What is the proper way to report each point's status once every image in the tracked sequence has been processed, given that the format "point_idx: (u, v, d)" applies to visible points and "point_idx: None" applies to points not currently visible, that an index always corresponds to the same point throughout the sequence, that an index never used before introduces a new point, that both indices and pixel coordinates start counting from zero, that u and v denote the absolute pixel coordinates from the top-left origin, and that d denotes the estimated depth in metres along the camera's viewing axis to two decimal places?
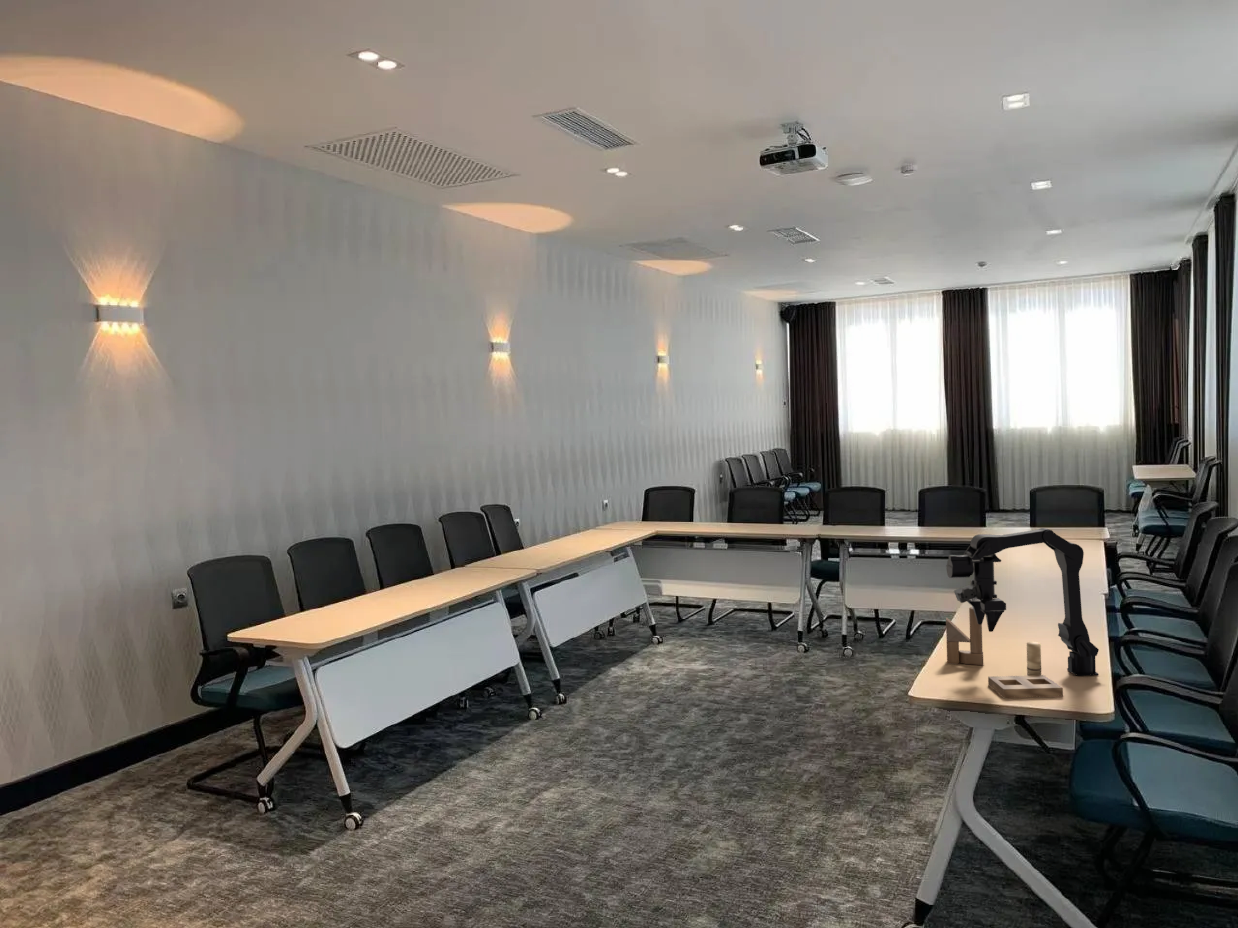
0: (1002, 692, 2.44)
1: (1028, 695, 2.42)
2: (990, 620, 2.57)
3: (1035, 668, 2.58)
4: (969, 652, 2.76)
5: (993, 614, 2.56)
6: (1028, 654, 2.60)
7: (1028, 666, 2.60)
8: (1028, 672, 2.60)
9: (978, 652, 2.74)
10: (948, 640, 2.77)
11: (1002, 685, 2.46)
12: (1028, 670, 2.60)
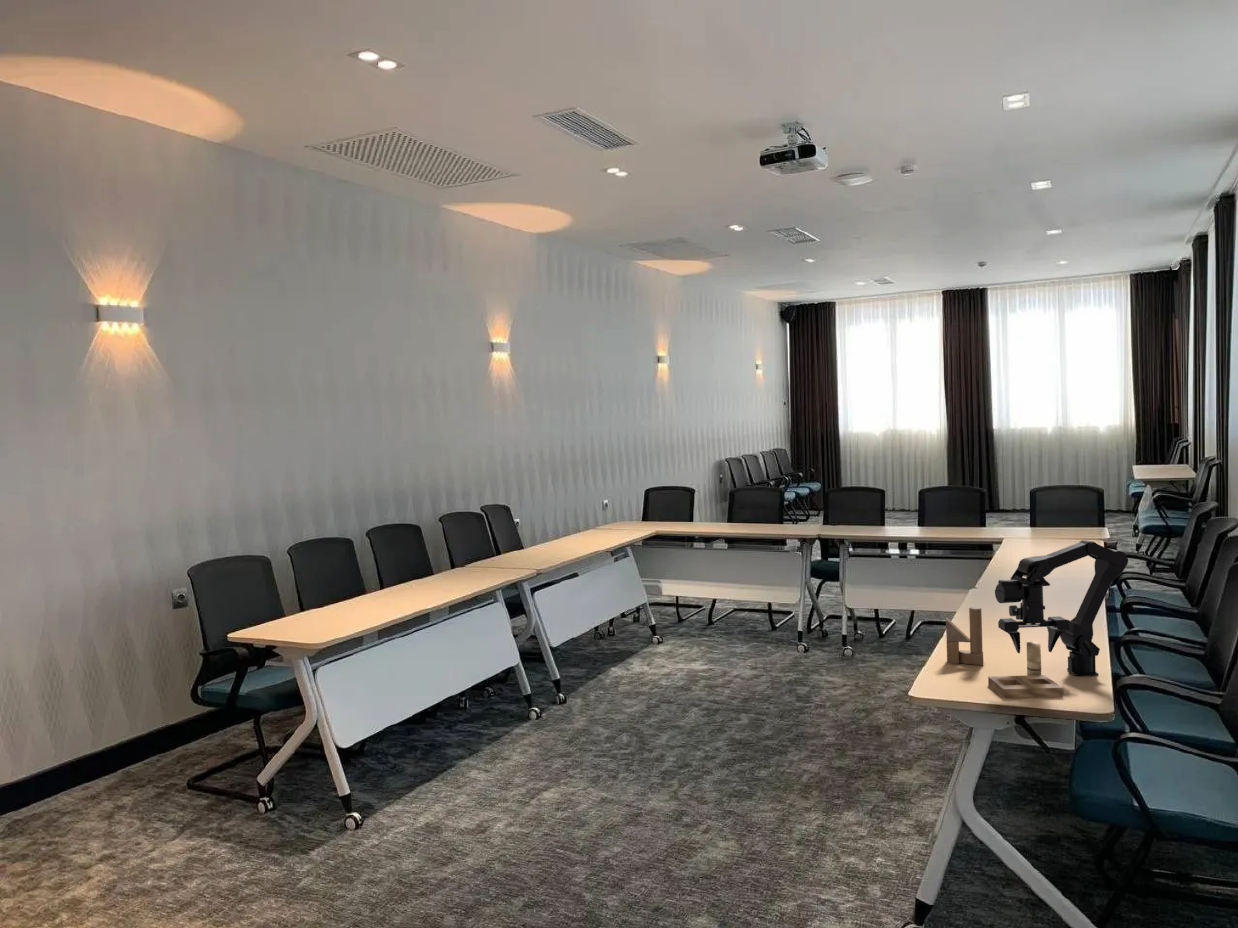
0: (1002, 692, 2.44)
1: (1028, 695, 2.42)
2: (1013, 640, 2.61)
3: (1035, 668, 2.58)
4: (969, 652, 2.76)
5: None
6: (1028, 654, 2.60)
7: (1028, 666, 2.60)
8: (1028, 672, 2.60)
9: (978, 652, 2.74)
10: (948, 640, 2.77)
11: (1002, 685, 2.46)
12: (1028, 670, 2.60)
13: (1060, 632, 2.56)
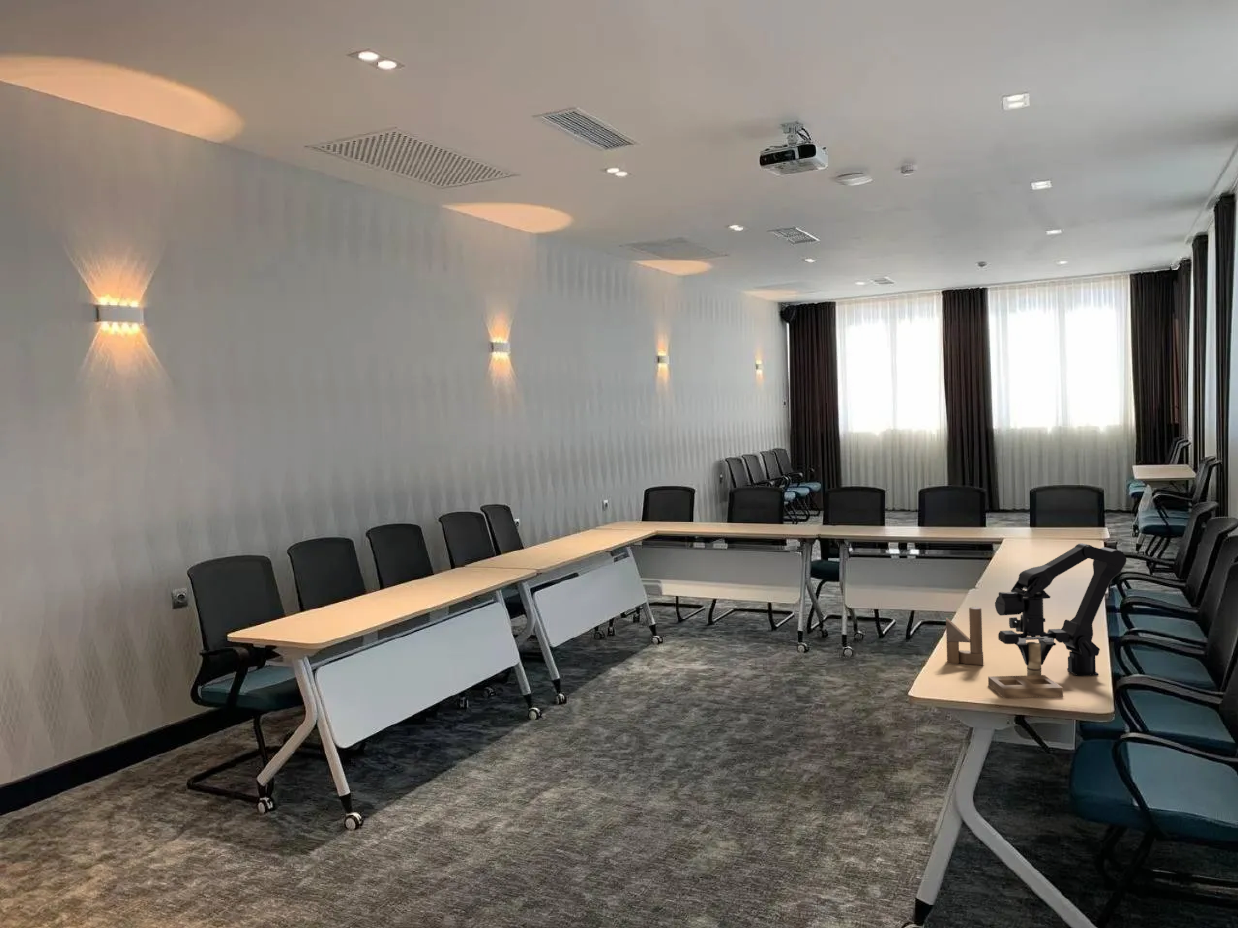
0: (1002, 692, 2.44)
1: (1028, 695, 2.42)
2: (1021, 652, 2.61)
3: (1035, 668, 2.58)
4: (969, 652, 2.76)
5: None
6: None
7: (1028, 666, 2.60)
8: (1028, 672, 2.60)
9: (978, 652, 2.74)
10: (948, 640, 2.77)
11: (1002, 685, 2.46)
12: (1028, 670, 2.60)
13: (1051, 645, 2.57)
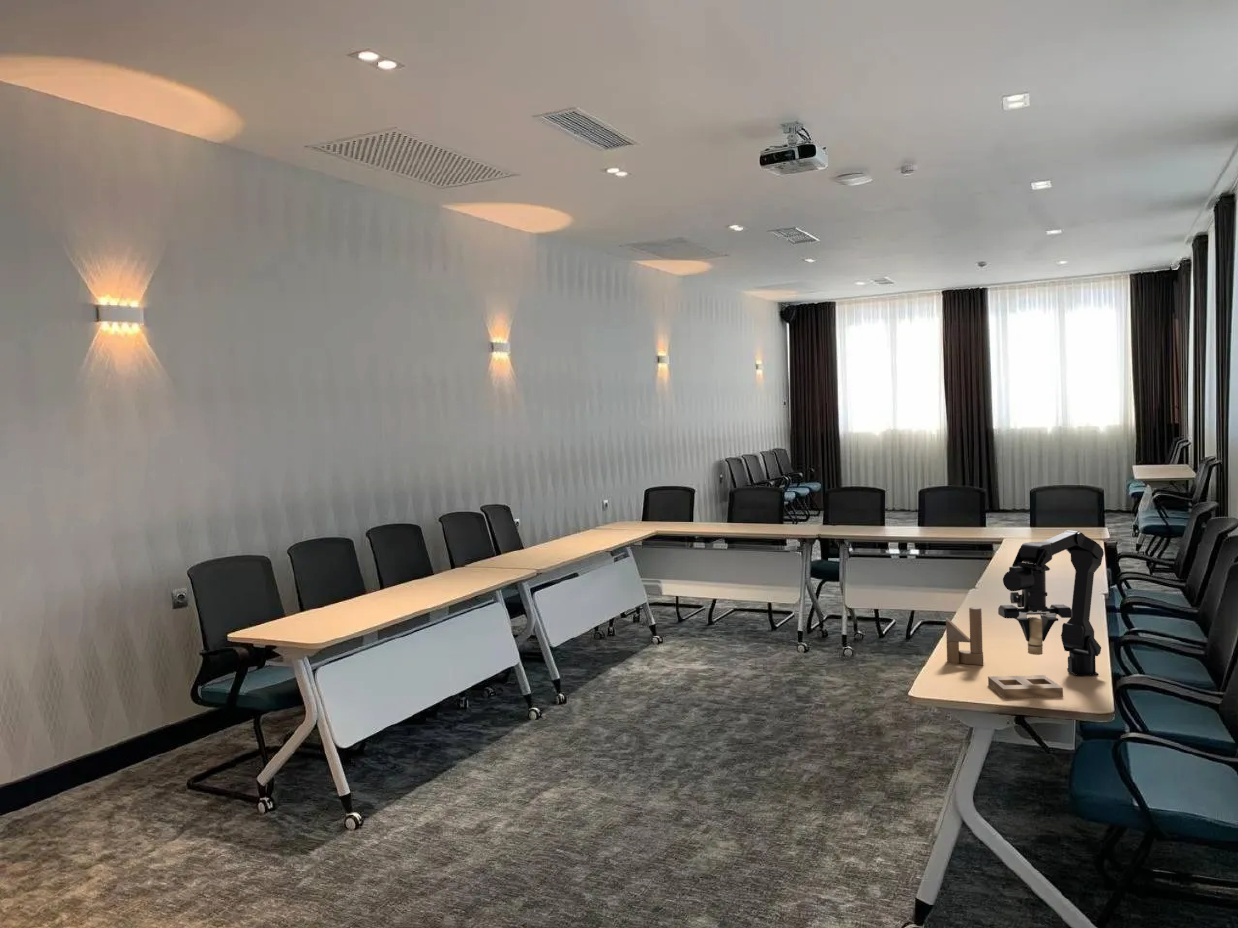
0: (1002, 692, 2.44)
1: (1028, 695, 2.42)
2: (1022, 628, 2.50)
3: (1036, 644, 2.48)
4: (969, 652, 2.76)
5: None
6: None
7: (1029, 642, 2.50)
8: (1029, 648, 2.50)
9: (978, 652, 2.74)
10: (948, 640, 2.77)
11: (1002, 685, 2.46)
12: (1029, 646, 2.50)
13: (1053, 620, 2.46)
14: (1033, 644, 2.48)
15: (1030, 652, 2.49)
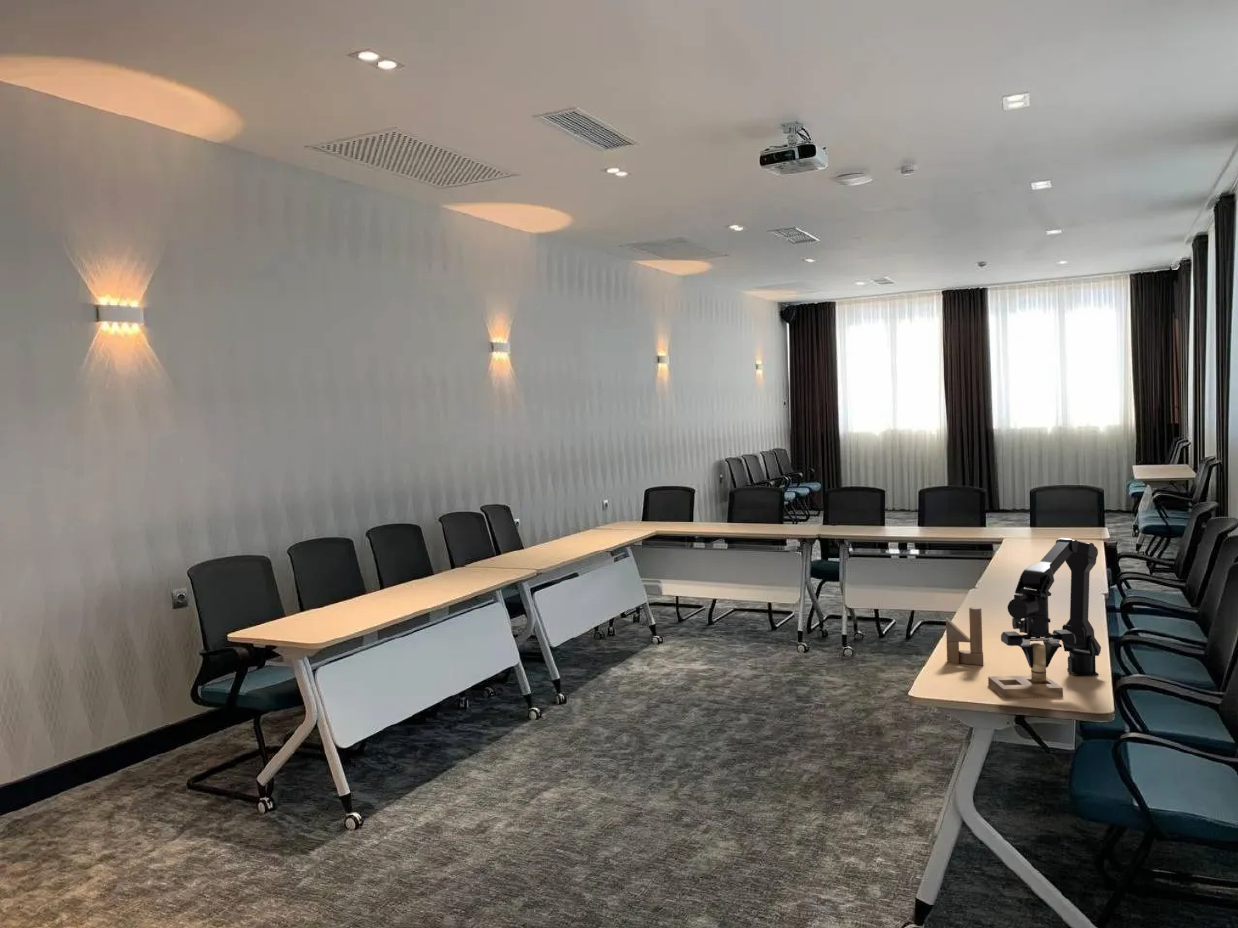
0: (1002, 692, 2.44)
1: (1028, 695, 2.42)
2: (1025, 654, 2.48)
3: (1040, 671, 2.46)
4: (969, 652, 2.76)
5: None
6: None
7: (1032, 669, 2.47)
8: (1032, 675, 2.47)
9: (978, 652, 2.74)
10: (948, 640, 2.77)
11: (1002, 685, 2.46)
12: (1032, 673, 2.47)
13: (1057, 647, 2.44)
14: (1037, 671, 2.46)
15: (1034, 679, 2.47)
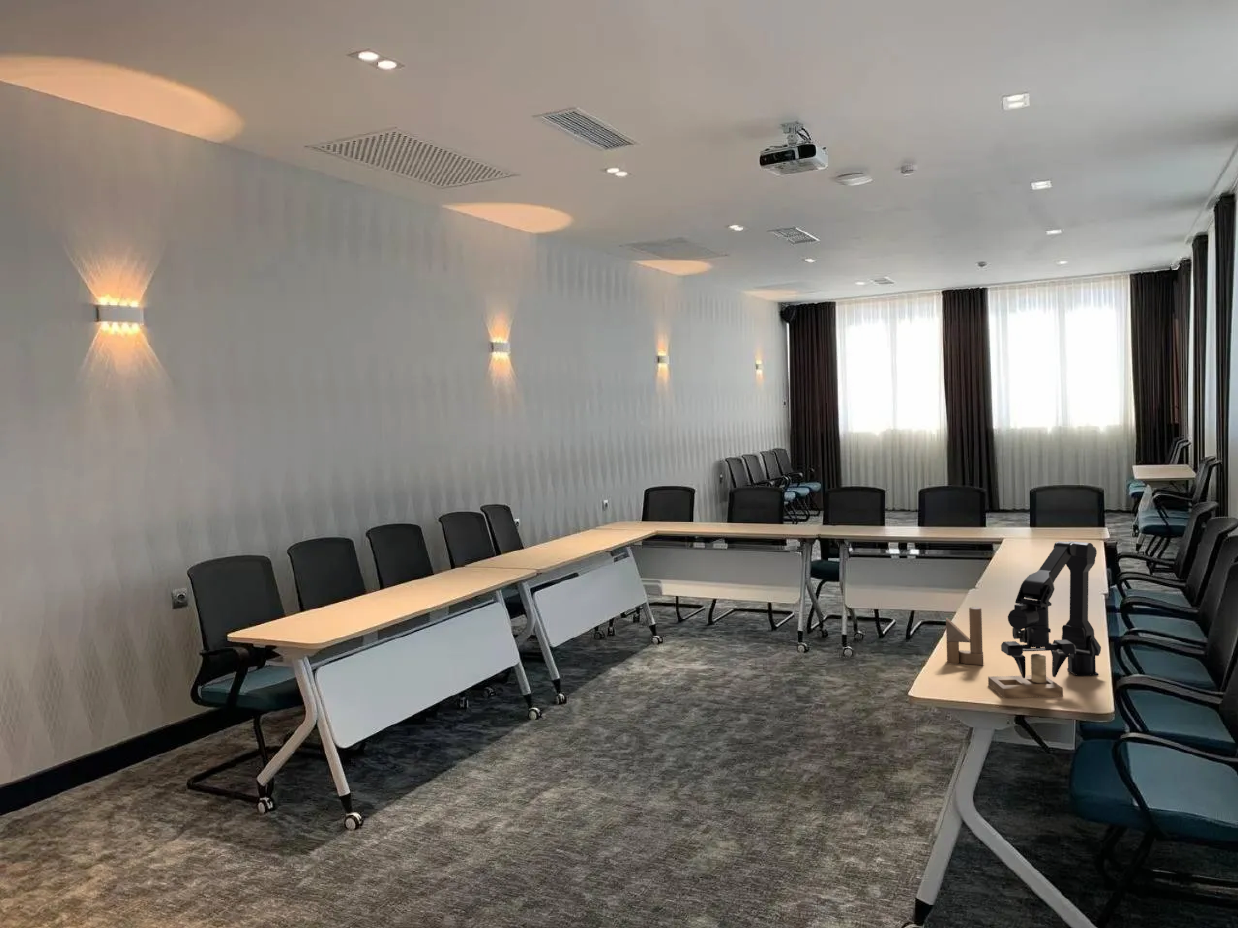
0: (1002, 692, 2.44)
1: (1028, 695, 2.42)
2: (1018, 664, 2.48)
3: (1040, 681, 2.46)
4: (969, 652, 2.76)
5: None
6: (1032, 667, 2.47)
7: (1032, 679, 2.47)
8: None
9: (978, 652, 2.74)
10: (948, 640, 2.77)
11: (1002, 685, 2.46)
12: None
13: (1065, 656, 2.44)
14: (1037, 681, 2.46)
15: None
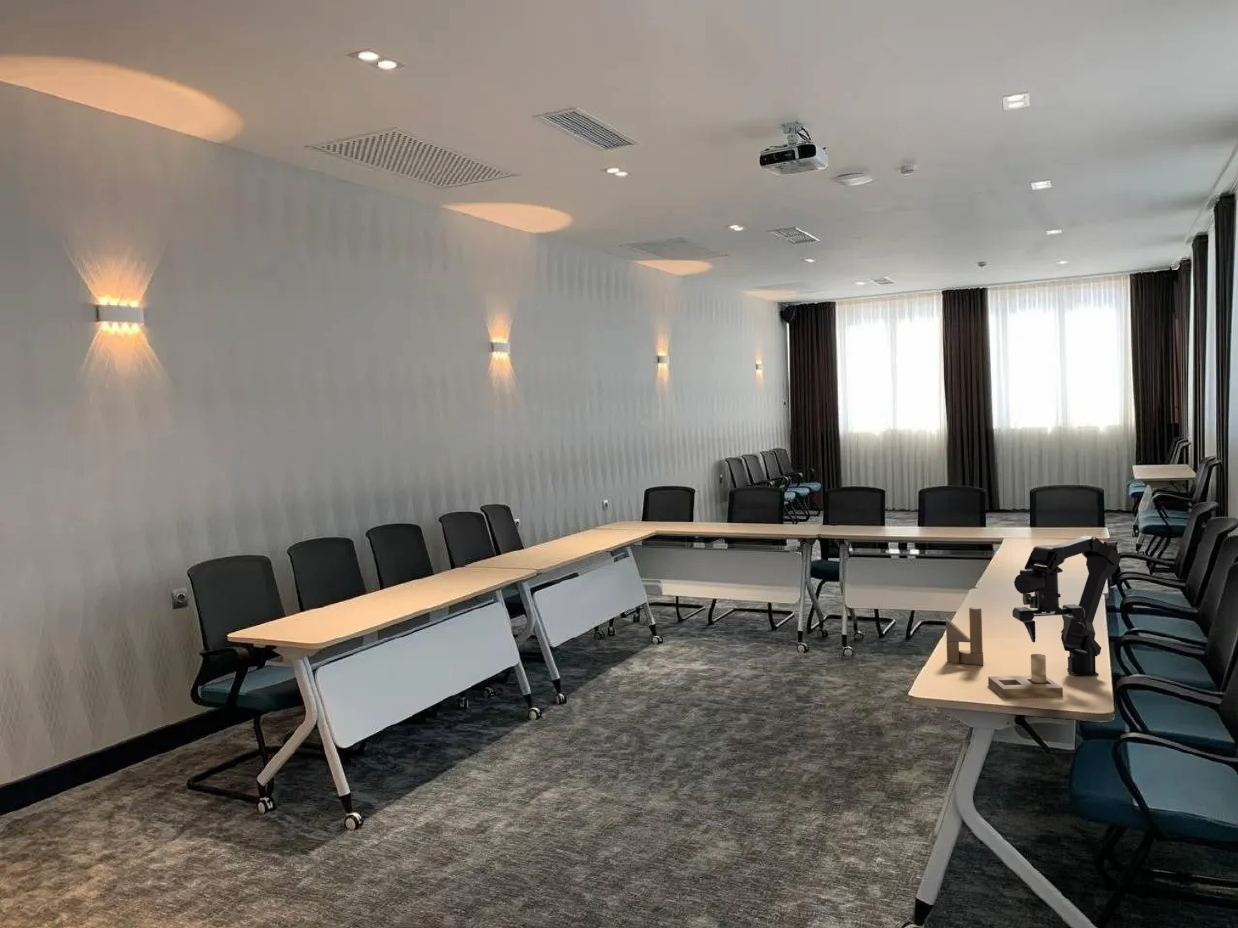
0: (1002, 692, 2.44)
1: (1028, 695, 2.42)
2: (1028, 629, 2.56)
3: (1040, 681, 2.46)
4: (969, 652, 2.76)
5: (1029, 624, 2.55)
6: (1032, 667, 2.47)
7: (1032, 679, 2.47)
8: None
9: (978, 652, 2.74)
10: (948, 640, 2.77)
11: (1002, 685, 2.46)
12: None
13: (1076, 620, 2.52)
14: (1037, 681, 2.46)
15: None
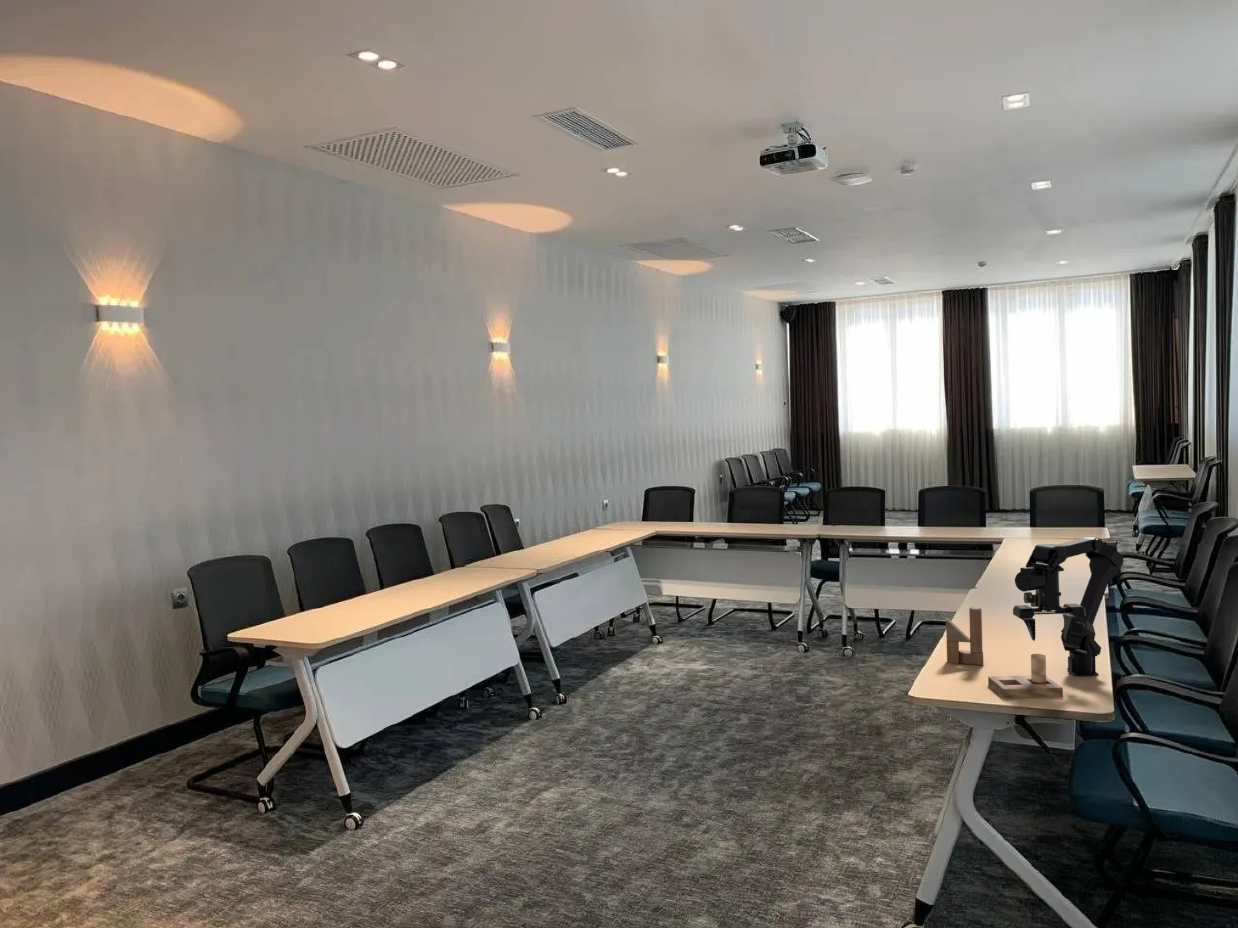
0: (1002, 692, 2.44)
1: (1028, 695, 2.42)
2: (1028, 627, 2.56)
3: (1040, 682, 2.46)
4: (969, 652, 2.76)
5: None
6: (1032, 667, 2.47)
7: (1032, 679, 2.47)
8: None
9: (978, 652, 2.74)
10: (948, 640, 2.77)
11: (1002, 685, 2.46)
12: None
13: (1076, 619, 2.52)
14: (1037, 681, 2.46)
15: None
